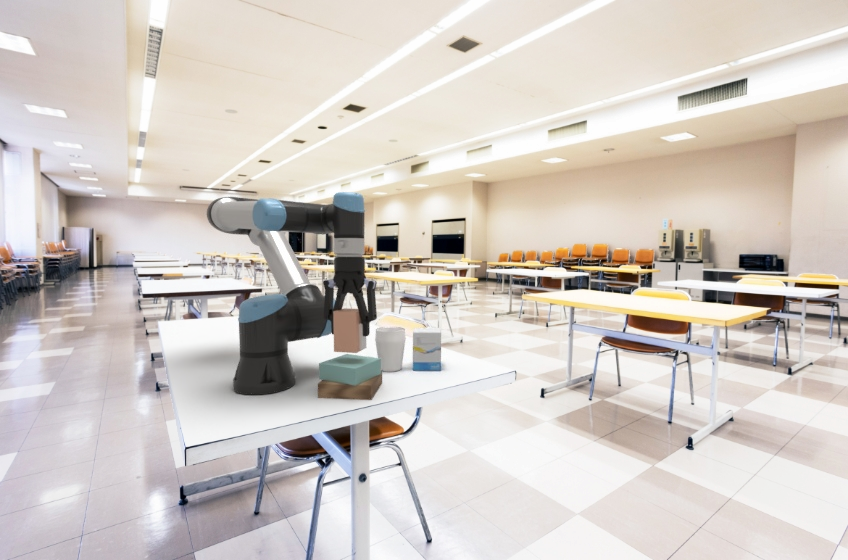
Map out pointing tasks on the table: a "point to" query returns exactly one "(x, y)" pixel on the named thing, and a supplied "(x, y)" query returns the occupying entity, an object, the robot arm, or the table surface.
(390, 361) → the cup
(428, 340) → the ink box
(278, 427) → the table surface
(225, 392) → the table surface
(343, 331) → the tall block
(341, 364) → the block top
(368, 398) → the block bottom
